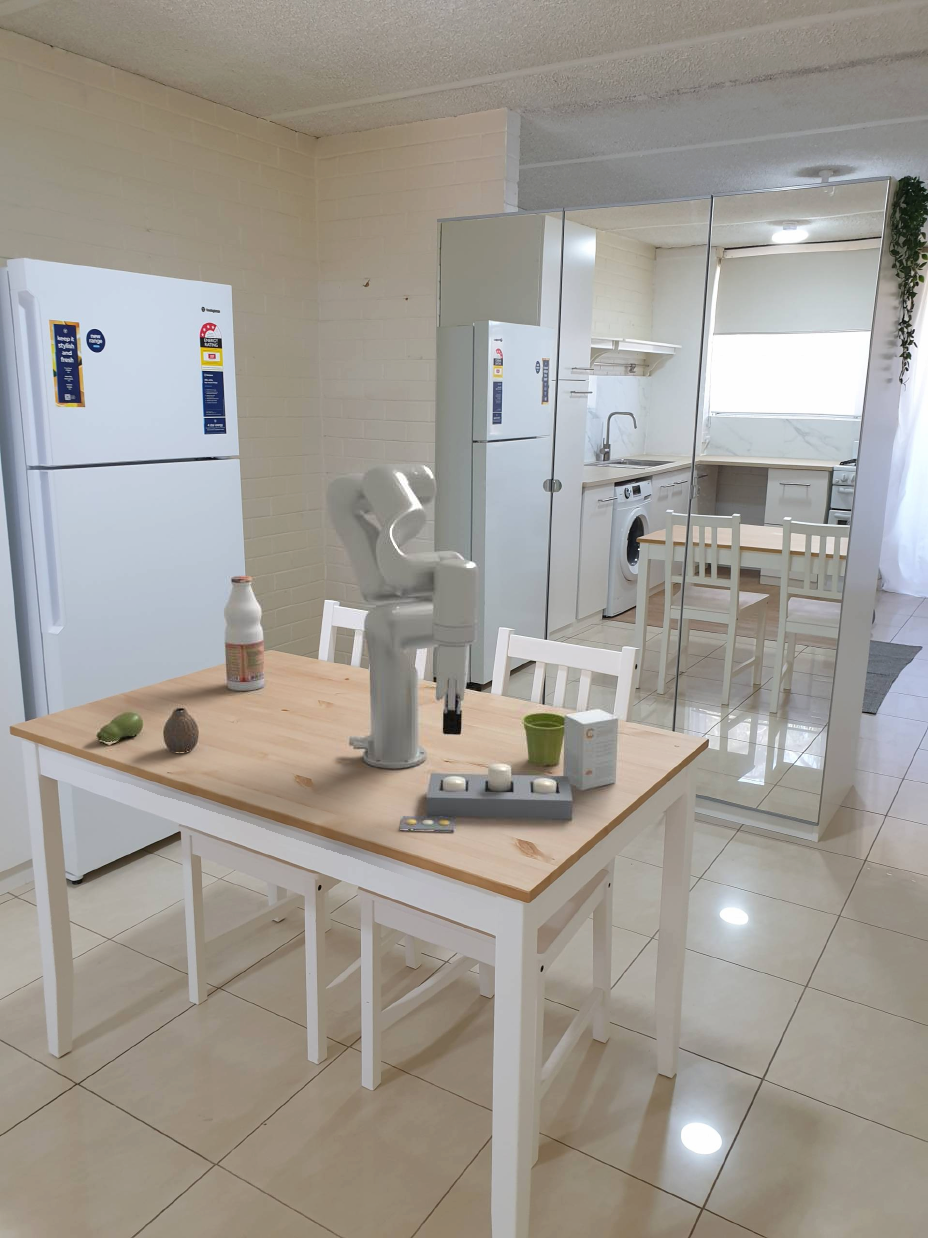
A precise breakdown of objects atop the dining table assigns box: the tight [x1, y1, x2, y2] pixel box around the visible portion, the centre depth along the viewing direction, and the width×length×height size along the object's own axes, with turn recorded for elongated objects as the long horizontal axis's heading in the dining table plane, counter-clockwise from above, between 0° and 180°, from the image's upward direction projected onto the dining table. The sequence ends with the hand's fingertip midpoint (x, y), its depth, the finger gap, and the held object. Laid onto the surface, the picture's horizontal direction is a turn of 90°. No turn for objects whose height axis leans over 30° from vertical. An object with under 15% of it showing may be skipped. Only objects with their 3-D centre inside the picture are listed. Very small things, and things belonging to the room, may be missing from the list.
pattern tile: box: [399, 815, 456, 833], centre depth 158 cm, size 9×5×1 cm, turn 88°
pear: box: [96, 711, 144, 742], centre depth 199 cm, size 6×5×10 cm
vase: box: [162, 707, 200, 753], centre depth 192 cm, size 7×7×9 cm
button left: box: [443, 776, 466, 791], centre depth 167 cm, size 4×4×4 cm
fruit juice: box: [223, 575, 266, 692], centre depth 235 cm, size 9×9×28 cm
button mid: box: [487, 763, 512, 791], centre depth 166 cm, size 4×4×4 cm
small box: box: [562, 708, 619, 791], centre depth 177 cm, size 8×6×13 cm
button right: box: [533, 778, 556, 793], centre depth 166 cm, size 4×4×4 cm
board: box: [425, 772, 574, 821], centre depth 167 cm, size 25×11×4 cm, turn 88°
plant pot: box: [521, 712, 565, 767], centre depth 187 cm, size 9×9×9 cm
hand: (452, 732), depth 165 cm, fingers closed
